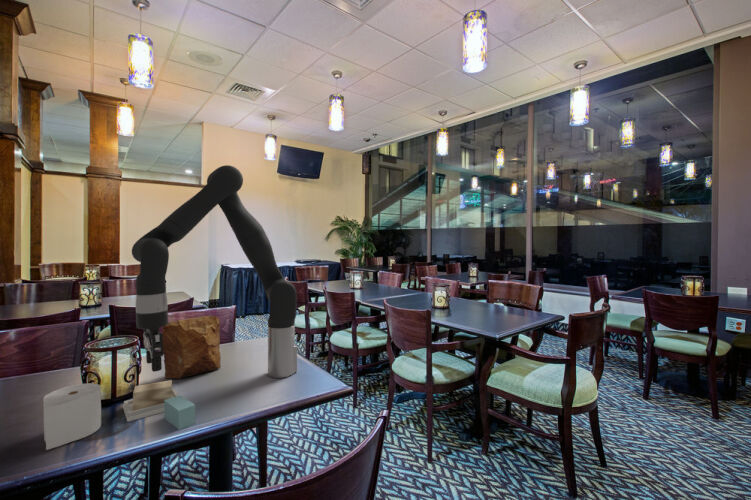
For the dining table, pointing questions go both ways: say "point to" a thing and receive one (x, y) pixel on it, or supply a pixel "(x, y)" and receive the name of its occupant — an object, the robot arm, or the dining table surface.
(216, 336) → the stone
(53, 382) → the dining table surface
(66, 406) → the toilet tissue
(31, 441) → the dining table surface
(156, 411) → the jig
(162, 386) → the tan wooden block
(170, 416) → the teal block
